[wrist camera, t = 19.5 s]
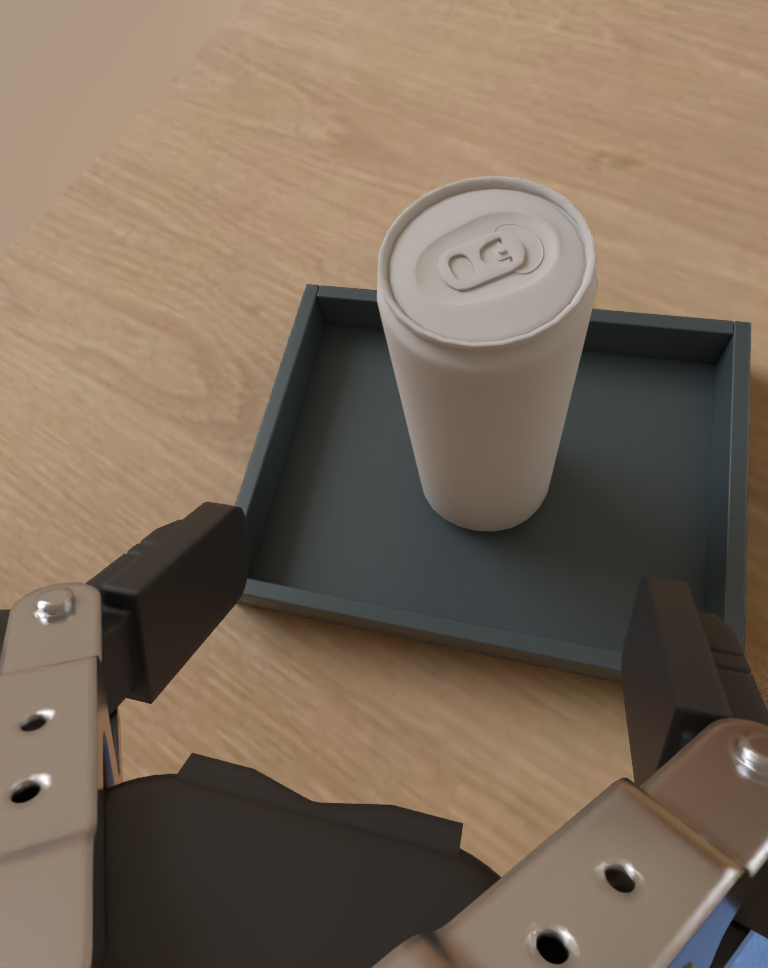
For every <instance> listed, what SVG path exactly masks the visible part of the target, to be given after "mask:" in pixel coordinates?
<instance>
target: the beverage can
mask: <svg viewBox="0 0 768 968" xmlns="http://www.w3.org/2000/svg"><path fill="white" fill-rule="evenodd" d="M596 262H597V257H596V249H595V241H594V236H593V234H592V232H591V230H590V228H589V226H588V223H587V221H586V219H585V217H584V215H583V214H582V213H581V212H580V211H579V210H578V209H577V208H576V207H575V206H574V205H573V204H572V203H571V202H570V201H569V200H568V199H567V198H565V197H564V196H562V195H560V194H559V193H557V192H555V191H554V190H552V189H550V188H549V187H547V186H545V185H542V184H538V183H535V182H532V181H529V180H526V179H522V178H515V177H505V176H485V177H474V178H467V179H463V180H460V181H456V182H453V183H450V184H446V185H443V186H441V187H439V188H437V189H435V190H433V191H431V192H429V193H427V194H425V195H424V196H422V197H420V198H419V199H417V200H416V201H415V202H414V203H413V204H411V205H410V206H409V207H408V208H407V209H405V210H404V211H403V212H402V213H401V214H400V215H399V216H398V218H397V219H396V220H395V222H394V223H393V225H392V226H391V227H390V229H389V230H388V231H387V233H386V236H385V238H384V241H383V244H382V246H381V249H380V252H379V256H378V282H377V303H378V307H379V311H380V315H381V319H382V324H383V328H384V332H385V336H386V340H387V344H388V348H389V352H390V357H391V361H392V365H393V369H394V373H395V377H396V381H397V385H398V390H399V394H400V398H401V402H402V406H403V410H404V414H405V418H406V423H407V427H408V431H409V435H410V439H411V443H412V447H413V451H414V456H415V460H416V464H417V468H418V472H419V476H420V480H421V484H422V488H423V491H424V495H425V497H426V499H427V500H428V502H429V504H430V505H431V507H432V508H433V510H435V511H436V512H437V513H438V514H439V515H440V516H441V517H442V518H444V519H445V520H447V521H449V522H451V523H453V524H455V525H457V526H459V527H462V528H466V529H471V530H475V531H499V530H505V529H510V528H513V527H515V526H517V525H518V524H520V523H522V522H524V521H526V520H527V519H528V518H530V517H531V516H532V515H533V514H534V513H535V512H536V511H537V510H538V509H539V507H540V506H541V504H542V502H543V500H544V498H545V497H546V495H547V492H548V488H549V484H550V480H551V476H552V472H553V468H554V464H555V460H556V456H557V451H558V447H559V443H560V439H561V435H562V431H563V427H564V423H565V419H566V415H567V411H568V407H569V402H570V398H571V394H572V390H573V386H574V382H575V378H576V374H577V370H578V366H579V362H580V357H581V353H582V349H583V345H584V341H585V337H586V333H587V329H588V325H589V321H590V317H591V312H592V308H593V304H594V299H595V295H596V290H597V285H598V281H597V272H596Z"/></svg>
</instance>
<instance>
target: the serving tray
mask: <svg viewBox="0 0 768 968" xmlns="http://www.w3.org/2000/svg"><path fill="white" fill-rule="evenodd" d="M750 358H751V323H750V322H739V321H735V322H734V323H733V321H727V320H715V319H704V318H692V317H681V316H669V315H658V314H646V313H634V312H623V311H611V310H600V309H592V312H591V317H590V321H589V325H588V329H587V333H586V337H585V341H584V345H583V349H582V353H581V357H580V362H579V366H578V370H577V374H576V378H575V382H574V386H573V390H572V394H571V398H570V402H569V407H568V411H567V415H566V419H565V423H564V427H563V431H562V435H561V439H560V443H559V447H558V451H557V456H556V460H555V464H554V468H553V472H552V476H551V480H550V484H549V488H548V492H547V495H546V497H545V498H544V500H543V502H542V504H541V506H540V507H539V509H538V510H537V511H536V512H535V513H534V514H533V515H532V516H531V517H530V518H528V519H527V520H526V521H524V522H522V523H520V524H518V525H517V526H515V527H513V528H510V529H505V530H499V531H475V530H471V529H466V528H462V527H459V526H457V525H455V524H453V523H451V522H449V521H447V520H445V519H444V518H442V517H441V516H440V515H439V514H438V513H437V512H436V511H435V510H433V508H432V507H431V505H430V504H429V502H428V500H427V499H426V497H425V495H424V491H423V488H422V484H421V480H420V476H419V472H418V468H417V464H416V460H415V456H414V451H413V447H412V443H411V439H410V435H409V431H408V427H407V423H406V418H405V414H404V410H403V406H402V402H401V398H400V394H399V390H398V385H397V381H396V377H395V373H394V369H393V365H392V361H391V357H390V352H389V348H388V344H387V340H386V336H385V332H384V328H383V324H382V319H381V315H380V311H379V307H378V303H377V290H368V289H356V288H345V287H333V286H322V285H321V286H319V285H310V284H307V285H306V288H305V291H304V294H303V297H302V300H301V303H300V306H299V309H298V312H297V315H296V318H295V322H294V325H293V328H292V331H291V334H290V337H289V340H288V343H287V346H286V349H285V352H284V355H283V359H282V362H281V365H280V368H279V371H278V374H277V377H276V380H275V383H274V386H273V389H272V393H271V396H270V399H269V402H268V405H267V408H266V411H265V414H264V417H263V420H262V423H261V426H260V430H259V433H258V436H257V439H256V442H255V445H254V448H253V451H252V454H251V457H250V460H249V463H248V467H247V470H246V473H245V476H244V479H243V482H242V485H241V488H240V491H239V494H238V497H237V500H236V504H235V506H237V507H240V508H242V510H243V511H244V514H245V523H246V545H247V567H248V575H247V582H246V586H245V589H244V592H243V594H242V596H241V598H240V599H239V601H238V602H237V603H239V604H244V605H249V606H254V607H259V608H263V609H268V610H273V611H278V612H283V613H287V614H292V615H297V616H302V617H307V618H311V619H316V620H321V621H326V622H331V623H336V624H340V625H345V626H350V627H355V628H360V629H364V630H369V631H374V632H379V633H384V634H389V635H393V636H398V637H403V638H408V639H413V640H417V641H422V642H427V643H432V644H437V645H442V646H446V647H451V648H456V649H461V650H466V651H470V652H475V653H480V654H485V655H490V656H494V657H499V658H504V659H509V660H514V661H519V662H523V663H528V664H533V665H538V666H543V667H547V668H552V669H557V670H562V671H567V672H572V673H576V674H581V675H586V676H591V677H596V678H600V679H605V680H610V681H615V682H620V683H622V678H621V663H622V653H623V647H624V642H625V638H626V634H627V630H628V626H629V622H630V618H631V614H632V610H633V605H634V601H635V597H636V593H637V589H638V585H639V582H640V580H641V578H642V576H643V575H648V576H654V577H660V578H666V579H672V580H678V581H684V582H687V583H688V585H689V588H690V591H691V594H692V597H693V600H694V603H695V606H696V609H697V611H701V612H706V613H712V614H716V615H717V616H718V617H719V618H720V619H721V620H722V621H723V622H724V623H725V624H726V625H727V626H728V627H729V628H730V629H731V630H732V631H733V632H734V633H735V634H736V636H737V639H738V641H739V644H740V646H741V648H742V651H743V653H744V641H745V594H746V547H747V500H748V453H749V406H750ZM743 657H744V655H743Z"/></svg>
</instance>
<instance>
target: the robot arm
mask: <svg viewBox="0 0 768 968" xmlns="http://www.w3.org/2000/svg"><path fill="white" fill-rule="evenodd" d="M247 575H248V567H247V545H246V523H245V514H244V511H243V510H242V508H240V507H237V506H231V505H225V504H219V503H213V502H205V503H203V504H202V505H200V506H199V507H198V508H197V509H195V510H194V511H193V512H192V513H190V514H189V515H188V516H187V517H185V518H184V519H183V520H177V521H175V522H172V523H170V524H168V525H165V526H163V527H160V528H158V529H156V530H155V531H153V532H152V533H151V534H149V535H148V536H147V537H145V538H144V539H143V540H142V541H141V543H140V544H136V545H135V546H134V547H132V548H131V549H130V550H129V551H128V553H127V554H123V555H122V556H121V557H119V558H118V559H117V560H116V561H114V562H113V563H112V564H110V565H109V566H108V567H106V568H105V569H104V570H102V571H101V572H100V573H99V574H97V575H96V576H95V577H93V578H92V579H91V580H89V581H88V582H87V583H86V584H83V583H59V584H54V585H49V586H46V587H42V588H40V589H37V590H34V591H32V592H30V593H28V594H27V595H25V596H23V597H22V598H21V599H19V600H18V601H17V602H16V603H15V604H14V605H13V607H12V608H11V610H0V968H730V967H731V966H732V964H733V963H734V961H735V960H736V959H737V957H738V956H739V954H740V953H741V952H742V950H743V949H744V947H745V946H746V945H747V943H748V942H749V940H750V939H751V938H752V936H753V935H754V933H755V932H756V933H758V934H760V935H761V936H763V937H765V938H767V939H768V711H767V709H766V707H765V704H764V702H763V699H762V697H761V694H760V692H759V690H758V687H757V685H756V682H755V680H754V677H753V675H750V671H751V670H750V668H749V665H748V663H747V661H746V658H744V657H743V655H744V653H743V651H742V648H741V646H740V644H739V641H738V639H737V636H736V634H735V633H734V632H733V631H732V630H731V629H730V628H729V627H728V626H727V625H726V624H725V623H724V622H723V621H722V620H721V619H720V618H719V617H718V616H717V615H716V614H712V613H706V612H701V611H697V609H696V606H695V603H694V600H693V597H692V594H691V591H690V588H689V585H688V583H687V582H684V581H678V580H672V579H666V578H660V577H654V576H648V575H643V576H642V578H641V580H640V582H639V585H638V589H637V593H636V597H635V601H634V605H633V610H632V614H631V618H630V622H629V626H628V630H627V634H626V638H625V642H624V647H623V653H622V663H621V678H622V686H623V694H624V702H625V710H626V718H627V726H628V734H629V742H630V750H631V758H632V766H633V774H634V782H635V783H633V782H632V781H631V780H629V779H628V778H621V779H619V780H617V781H615V782H614V783H613V784H611V785H610V786H609V787H608V788H607V789H606V790H604V791H603V792H602V793H601V794H600V795H598V796H597V797H596V798H595V799H594V800H593V801H591V802H590V803H589V804H588V805H587V806H585V807H584V808H583V809H582V810H581V811H580V812H578V813H577V814H576V815H575V816H574V817H572V818H571V819H570V820H569V821H568V822H567V823H565V824H564V825H563V826H562V827H561V828H560V829H558V830H557V831H556V832H555V833H554V834H552V835H551V836H550V837H549V838H548V839H547V840H545V841H544V842H543V843H542V844H541V845H539V846H538V847H537V848H536V849H535V850H534V851H532V852H531V853H530V854H529V855H528V856H526V857H525V858H524V859H523V860H522V861H521V862H519V863H518V864H517V865H516V866H515V867H513V868H512V869H511V870H510V871H509V872H508V873H506V874H505V875H504V876H503V877H502V878H501V877H500V876H499V875H498V874H497V873H496V872H494V871H493V870H492V869H491V868H490V867H489V866H487V865H486V864H484V863H483V862H482V861H480V860H479V859H477V858H476V857H474V856H473V855H471V854H469V853H468V852H466V851H464V850H462V849H460V842H461V834H462V827H463V823H459V822H455V821H451V820H448V819H444V818H440V817H436V816H432V815H428V814H425V813H421V812H417V811H413V810H409V809H405V808H402V807H398V806H394V805H379V804H345V803H319V802H314V801H311V800H309V799H307V798H305V797H303V796H301V795H300V794H298V793H296V792H294V791H292V790H291V789H289V788H287V787H285V786H283V785H282V784H280V783H278V782H276V781H274V780H273V779H271V778H269V777H267V776H266V775H264V774H262V773H260V772H258V771H257V770H255V769H252V768H248V767H244V766H241V765H237V764H233V763H229V762H225V761H221V760H218V759H214V758H210V757H206V756H202V755H198V754H194V753H192V754H191V755H190V756H189V758H188V759H187V761H186V762H185V764H184V765H183V767H182V768H181V769H180V771H179V772H178V774H163V775H153V776H147V777H142V778H137V779H133V780H129V781H126V782H123V773H122V751H121V730H120V716H119V710H118V706H119V705H120V704H121V703H122V702H123V700H124V699H125V698H129V699H133V700H137V701H141V702H145V703H149V704H152V702H153V701H154V700H155V699H156V698H157V697H158V695H159V694H160V693H161V692H162V691H163V689H164V688H165V687H166V686H167V685H168V684H169V682H170V681H171V680H172V679H173V678H174V676H175V675H176V674H177V673H178V672H179V671H180V669H181V668H182V667H183V666H184V665H185V663H186V662H187V661H188V660H189V659H190V658H191V656H192V655H193V654H194V653H195V652H196V650H197V649H198V648H199V647H200V646H201V645H202V643H203V642H204V641H205V640H206V639H207V637H208V636H209V635H210V634H211V633H212V632H213V630H214V629H215V628H216V627H217V626H218V624H219V623H220V622H221V621H222V620H223V619H224V617H225V616H226V615H227V614H228V613H229V611H230V610H231V609H232V608H233V607H234V606H235V604H236V603H237V602H238V601H239V599H240V598H241V596H242V594H243V592H244V589H245V586H246V582H247Z"/></svg>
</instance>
